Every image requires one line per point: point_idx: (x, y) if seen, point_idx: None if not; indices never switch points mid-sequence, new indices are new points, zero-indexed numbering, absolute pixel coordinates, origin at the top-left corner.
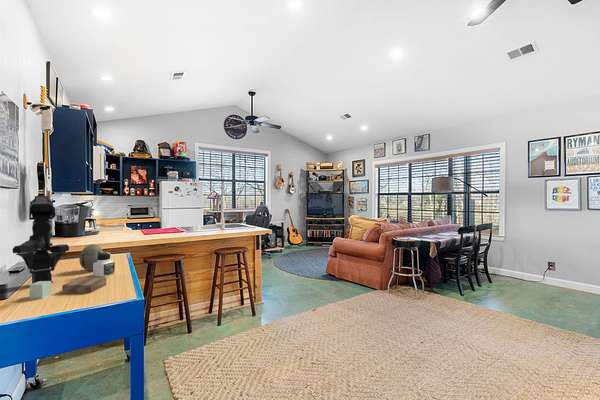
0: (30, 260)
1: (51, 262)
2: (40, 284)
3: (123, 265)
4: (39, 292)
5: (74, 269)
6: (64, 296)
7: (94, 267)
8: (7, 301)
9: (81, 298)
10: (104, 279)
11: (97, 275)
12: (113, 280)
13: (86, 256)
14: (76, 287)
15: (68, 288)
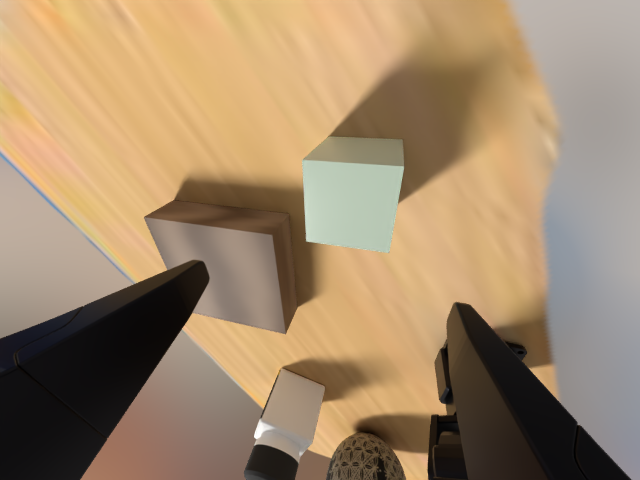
0: (486, 453)
1: (125, 303)
2: (317, 163)
3: None
4: (336, 145)
5: None
6: (242, 162)
7: (309, 419)
8: (530, 90)
9: (141, 121)
10: None
11: (305, 381)
12: (222, 327)
13: None
14: (212, 219)
15: (250, 221)
